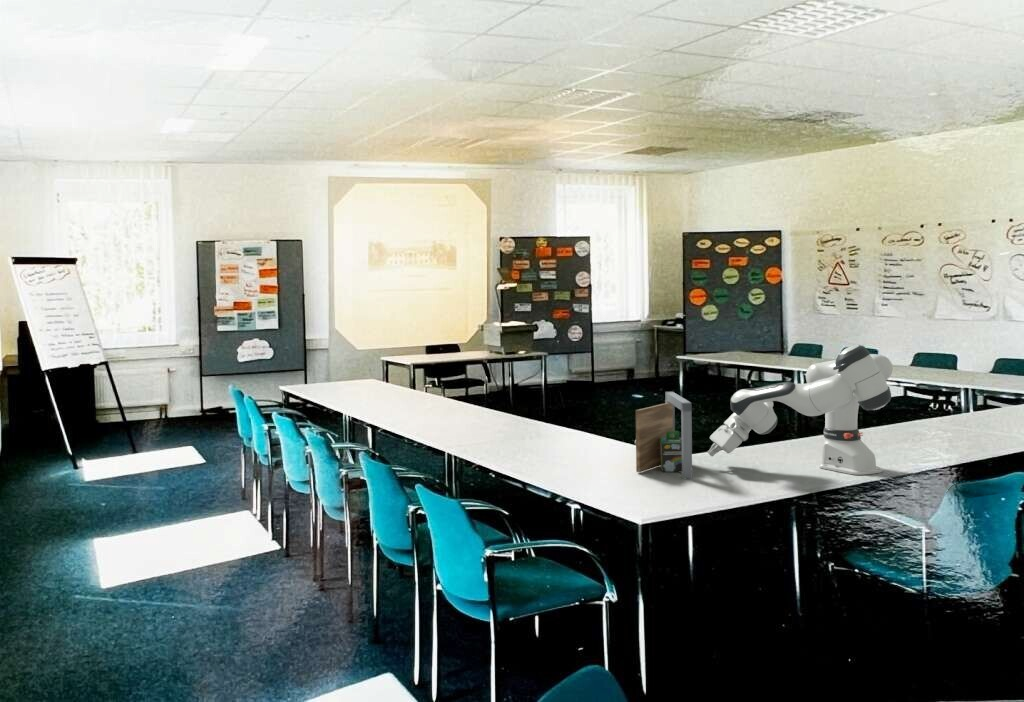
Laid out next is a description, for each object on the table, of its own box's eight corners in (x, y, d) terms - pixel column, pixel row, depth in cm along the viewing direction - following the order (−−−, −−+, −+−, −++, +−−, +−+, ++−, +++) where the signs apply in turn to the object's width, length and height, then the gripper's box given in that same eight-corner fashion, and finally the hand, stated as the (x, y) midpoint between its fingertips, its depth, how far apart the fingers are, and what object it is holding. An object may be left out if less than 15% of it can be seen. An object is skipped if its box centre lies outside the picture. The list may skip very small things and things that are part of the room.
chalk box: (684, 467, 308) (684, 428, 307) (687, 472, 299) (686, 432, 298) (659, 467, 309) (659, 428, 308) (661, 472, 300) (660, 432, 299)
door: (673, 461, 316) (672, 402, 314) (639, 472, 298) (639, 410, 296) (666, 460, 318) (665, 402, 316) (632, 471, 300) (631, 409, 298)
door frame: (673, 459, 321) (672, 391, 319) (692, 478, 289) (691, 402, 287) (666, 460, 321) (665, 391, 319) (683, 478, 289) (682, 403, 287)
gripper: (722, 417, 312) (697, 443, 313) (737, 426, 292) (709, 454, 293) (734, 428, 313) (708, 454, 314) (749, 438, 292) (722, 466, 293)
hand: (709, 454), depth 303 cm, fingers closed
